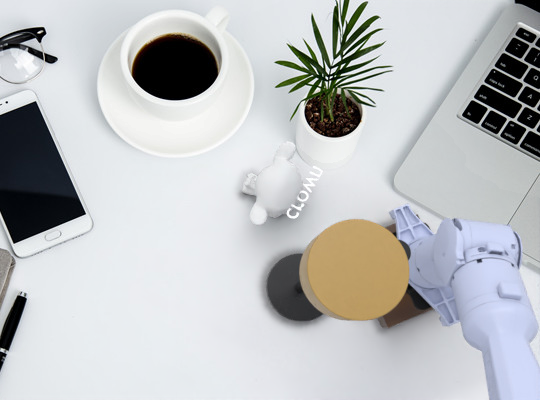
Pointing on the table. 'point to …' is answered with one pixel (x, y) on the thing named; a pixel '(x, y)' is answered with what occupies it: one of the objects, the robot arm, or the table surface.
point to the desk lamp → (342, 274)
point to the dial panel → (400, 305)
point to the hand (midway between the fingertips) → (404, 269)
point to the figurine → (277, 187)
